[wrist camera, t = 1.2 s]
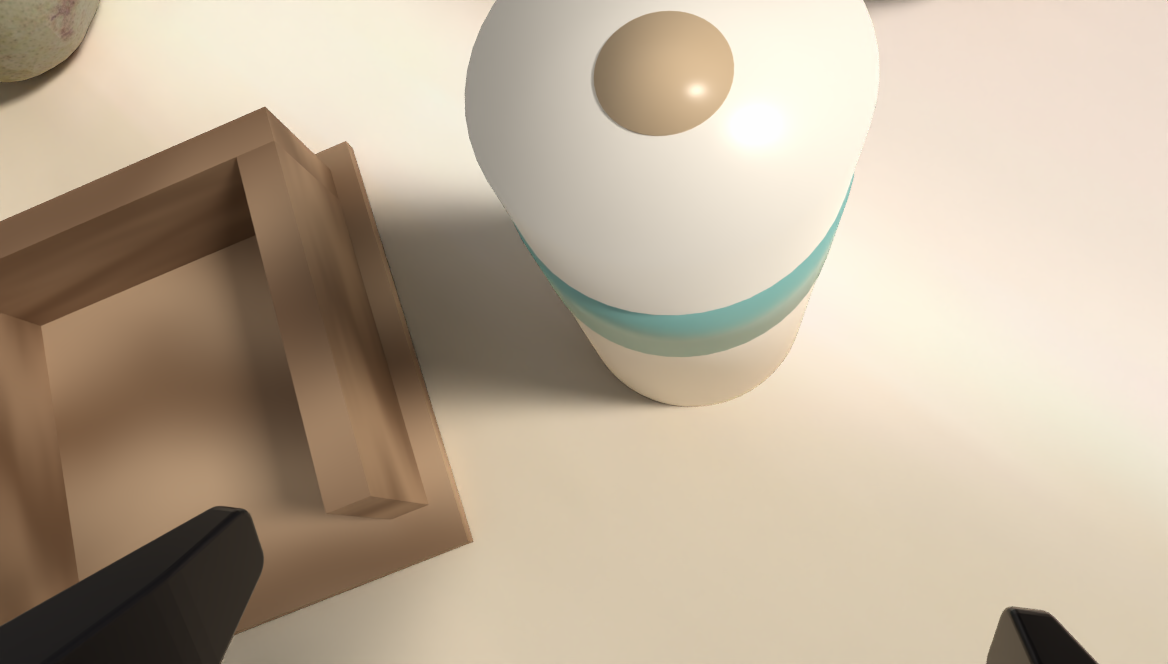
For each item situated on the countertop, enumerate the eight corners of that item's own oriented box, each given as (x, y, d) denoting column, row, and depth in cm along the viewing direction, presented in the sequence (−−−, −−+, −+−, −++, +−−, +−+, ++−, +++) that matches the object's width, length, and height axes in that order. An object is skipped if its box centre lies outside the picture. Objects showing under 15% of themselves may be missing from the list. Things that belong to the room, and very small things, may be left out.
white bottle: (697, 455, 23) (672, 360, 11) (540, 308, 25) (381, 98, 13) (851, 292, 23) (979, 40, 12) (685, 160, 25) (654, -166, 14)
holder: (473, 541, 23) (416, 540, 19) (48, 707, 24) (-99, 742, 20) (352, 148, 27) (283, 73, 23) (-5, 301, 28) (-135, 256, 24)
